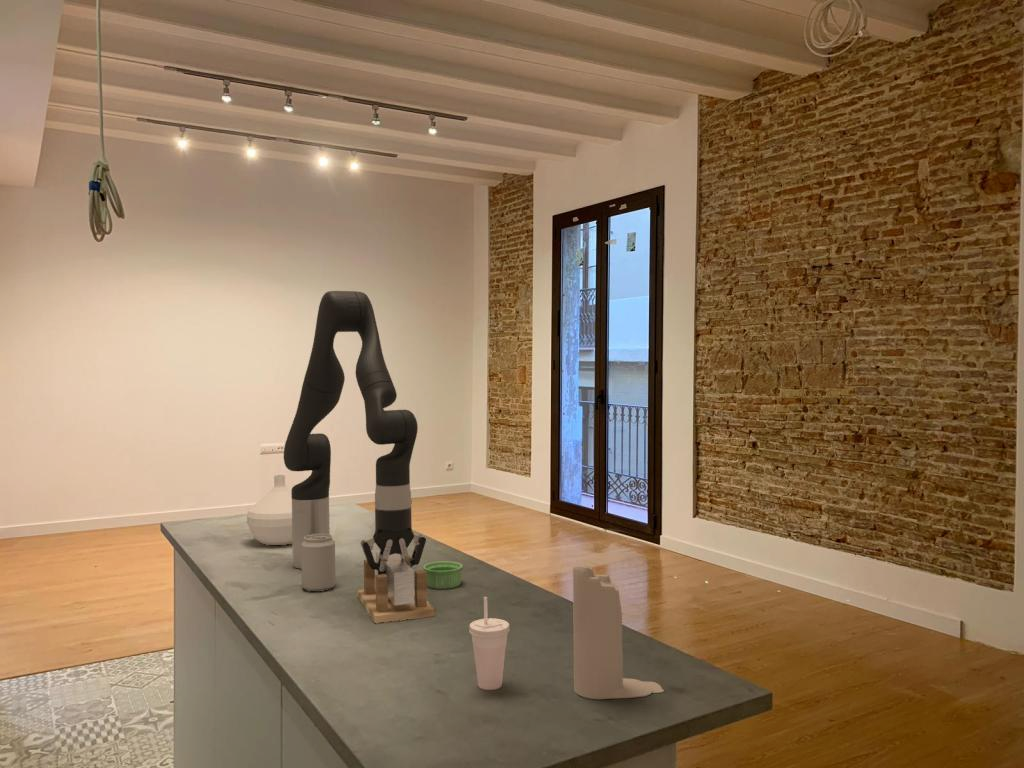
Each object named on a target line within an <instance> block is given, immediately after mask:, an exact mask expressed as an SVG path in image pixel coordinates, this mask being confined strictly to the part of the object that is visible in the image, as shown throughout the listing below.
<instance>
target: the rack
mask: <svg viewBox="0 0 1024 768" xmlns="http://www.w3.org/2000/svg"><path fill="white" fill-rule="evenodd" d="M411 558H412V556H410V555H409V559H411ZM357 598H358V599H359V601H360V602H362V603H361V604H362V606H363V607H364V608H365V610H366V612H367V613H368V615H369V617H370V618H371V619H372V621H373V623H374V622H375V623H376V624H381V623H380V622H384V623H390V622H389V621H392V622H398V620H400V621H405V620H406V619H408V620H413V619H414V620H415V619H422V618H429V617H435V607H433V605H432V604H431V603H430V602H429V601H428V599H427V598H428V586H427V572H426V571H425V570H424V569H420V570H414V603H410V604H402V605H394V604H393V603H392V601H391V600H390V599H389V598H388V576H387V575H386V574H380V575H376V570H375V569H371V567H370V566H369V565H368V562H367V559H364V560H363V589H359V590H357ZM406 621H407V620H406ZM375 623H374V624H375Z"/></svg>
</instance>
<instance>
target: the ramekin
mask: <svg viewBox="0 0 1024 768" xmlns="http://www.w3.org/2000/svg"><path fill="white" fill-rule="evenodd" d="M463 567H464V566H463V564H462V563H460V562H458V561H447V560H445V561H444V560H441V561H433V562H429V563H426V564H424V565H423V569H422V570H425V571H426V572H427V588H429V587H430V589H433V588H434V590H449V589H454V588H457V587H458V586H460V585H461V582H462V581H461V580H462V570H463Z"/></svg>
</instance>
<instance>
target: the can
mask: <svg viewBox="0 0 1024 768" xmlns="http://www.w3.org/2000/svg"><path fill="white" fill-rule="evenodd" d="M332 537H333V536H332V534H312V535H308V536H305V537H304V539H305V540H304V541H303V542H302V544H301V557H302V569H301V587H302V588H303V589H304V590H305V591H307V590H309V591H308V592H310V591H322V590H327V591H329V590H331V589H332V588H333V587H334V586H335V585H336V580H337V579H336V542H335V540H334V539H333V538H332ZM330 588H331V589H330ZM328 589H329V590H328ZM322 592H323V591H322Z"/></svg>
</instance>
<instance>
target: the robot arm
mask: <svg viewBox="0 0 1024 768" xmlns="http://www.w3.org/2000/svg"><path fill="white" fill-rule="evenodd" d="M356 332H357V334H358V335H359V337H360V339H361V340H360V341H361V348H360V353H359V355H358V359H357V362H356V365H355V379H356V382H357V385H358V388H359V390H360V394H361V396H362V399H363V403H364V411H365V431H366V434H367V437H368V438H369V440H370V441H371V442H372V443H374V444H376V445H379V446H380V445H381V446H382V445H392V444H394V445H393V447H392V450H391V451H390V452H389V453H387V454H383V455H381V456H379V457H378V458H377V459H376V461H375V491H374V492H375V493H374V514H375V515H374V518H375V519H374V521H375V523H374V524H375V525H374V526H375V531H374V534H373V536H372V537H371V538H369V539H367V540H364V539H362V541H360V546H361V548H362V551H363V554H364V557H365V558H366V559H365V560H367V562H368V565H369V566H370V567H371V569H375V571H376V570H378V575H380V574H386V571H385V567H386V563H387V561H388V557H389V555H392V554H398V555H399V556H400V557H401V559H402V560H403V561H404V562H406V563H407V564H408V565H409V566H410V567H411V568H413V567H414V566H418V565H419V564H420V562H421V559H422V555H423V551H424V549H425V546H426V543H427V539H426V537H425V536H424V535H422V534H420V535H418V534H415V533H414V531H413V528H412V526H413V525H412V523H413V522H412V502H413V500H412V491H411V482H410V480H411V479H410V478H411V477H410V476H411V475H410V465H411V460H412V454H413V452H414V451H413V450H414V447H415V443H416V440H417V434H418V429H419V428H418V427H419V426H418V420H417V418H416V416H415V415H414V413H413V412H412V411H410V410H409V409H391V410H387V409H386V408H388V407H391V406H392V405H393V404H394V403H395V402H396V400H397V390H396V386H395V385H394V383H393V380H392V378H391V374H390V372H389V369H388V367H387V364H386V362H385V358H384V354H383V349H382V344H381V340H380V335H379V329H378V326H377V321H376V316H375V312H374V308H373V305H372V302H371V300H370V298H369V296H368V295H367V294H366V293H365V292H362V291H357V290H356V291H354V290H352V291H351V290H330V291H327V292H325V293H324V294H323V296H322V297H321V299H320V302H319V306H318V311H317V317H316V323H315V331H314V336H313V337H314V338H313V343H312V347H311V351H310V352H311V353H310V357H309V360H308V364H307V367H306V371H305V374H304V377H303V382H302V386H301V390H300V391H301V392H300V395H299V400H298V404H297V407H296V408H297V409H296V411H295V415H294V417H293V420H292V422H291V423H292V424H291V426H290V428H289V431H288V434H287V437H286V440H285V444H284V448H283V449H284V450H283V461H284V462H283V463H284V466H285V468H287V470H288V471H290V472H306V471H307V472H308V471H311V473H310V475H309V476H308V477H307V478H306V479H304V480H303V481H301V482H299V483H297V484H295V485H293V486H292V487H291V490H290V491H291V497H292V544H291V547H292V550H291V551H292V552H291V553H292V568H296V569H301V570H302V557H301V544H302V542H303V541H304V540H305V539H304V537H305V536H308V535H312V534H330V533H331V531H330V529H331V527H330V485H331V465H332V464H331V463H332V461H331V460H332V451H331V450H332V449H331V442H330V440H329V437H328V436H327V435H326V434H324V433H321V432H320V433H312V432H313V430H314V429H315V427H316V426H317V425H318V424H319V423H321V422H322V421H323V420H324V419H325V418H326V417H327V416H328V415H330V413H331V412H332V411H333V410H334V409H335V407H336V406H337V405H338V403H339V402H340V399H341V395H342V392H343V388H344V383H345V381H346V380H345V379H346V378H345V373H344V369H343V367H342V365H341V362H340V361H339V358H338V357H337V354H336V352H335V349H334V341H335V338H336V335H337V334H338V333H356ZM330 535H331V534H330ZM412 541H413V544H414V549H413V552H412V555H411V559H409V556H410V555H409V553H408V547H409V546H410V544H411V543H412ZM374 544H375V545H376V546H377V547H378V548H379V552H380V553H379V560H378V563H377V562H376V559H374V558H375V557H374V555H373V552H372V551H373V549H374Z"/></svg>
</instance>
